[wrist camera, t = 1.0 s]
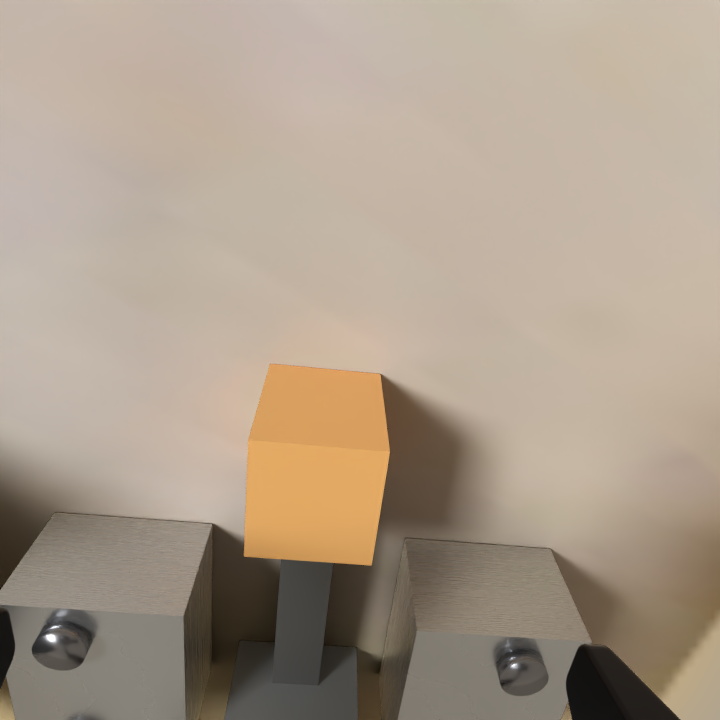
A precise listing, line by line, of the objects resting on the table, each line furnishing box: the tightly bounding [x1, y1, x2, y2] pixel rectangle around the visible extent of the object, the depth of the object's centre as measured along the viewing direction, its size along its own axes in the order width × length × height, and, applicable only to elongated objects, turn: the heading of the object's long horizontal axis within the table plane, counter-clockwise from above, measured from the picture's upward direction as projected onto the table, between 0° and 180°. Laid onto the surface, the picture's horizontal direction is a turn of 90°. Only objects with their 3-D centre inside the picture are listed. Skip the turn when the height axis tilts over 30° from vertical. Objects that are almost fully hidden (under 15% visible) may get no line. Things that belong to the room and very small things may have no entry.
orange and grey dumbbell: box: [224, 364, 390, 720], centre depth 16 cm, size 16×4×4 cm, turn 174°
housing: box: [0, 512, 592, 720], centre depth 16 cm, size 6×14×4 cm, turn 84°
